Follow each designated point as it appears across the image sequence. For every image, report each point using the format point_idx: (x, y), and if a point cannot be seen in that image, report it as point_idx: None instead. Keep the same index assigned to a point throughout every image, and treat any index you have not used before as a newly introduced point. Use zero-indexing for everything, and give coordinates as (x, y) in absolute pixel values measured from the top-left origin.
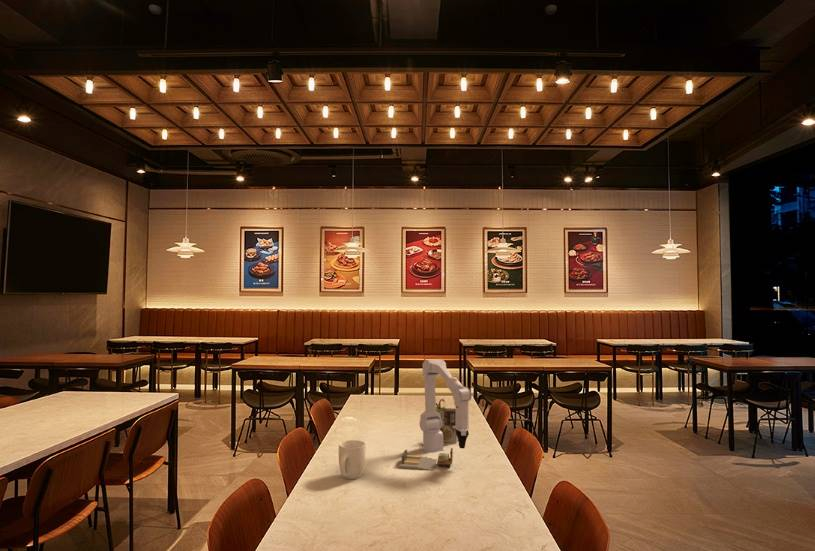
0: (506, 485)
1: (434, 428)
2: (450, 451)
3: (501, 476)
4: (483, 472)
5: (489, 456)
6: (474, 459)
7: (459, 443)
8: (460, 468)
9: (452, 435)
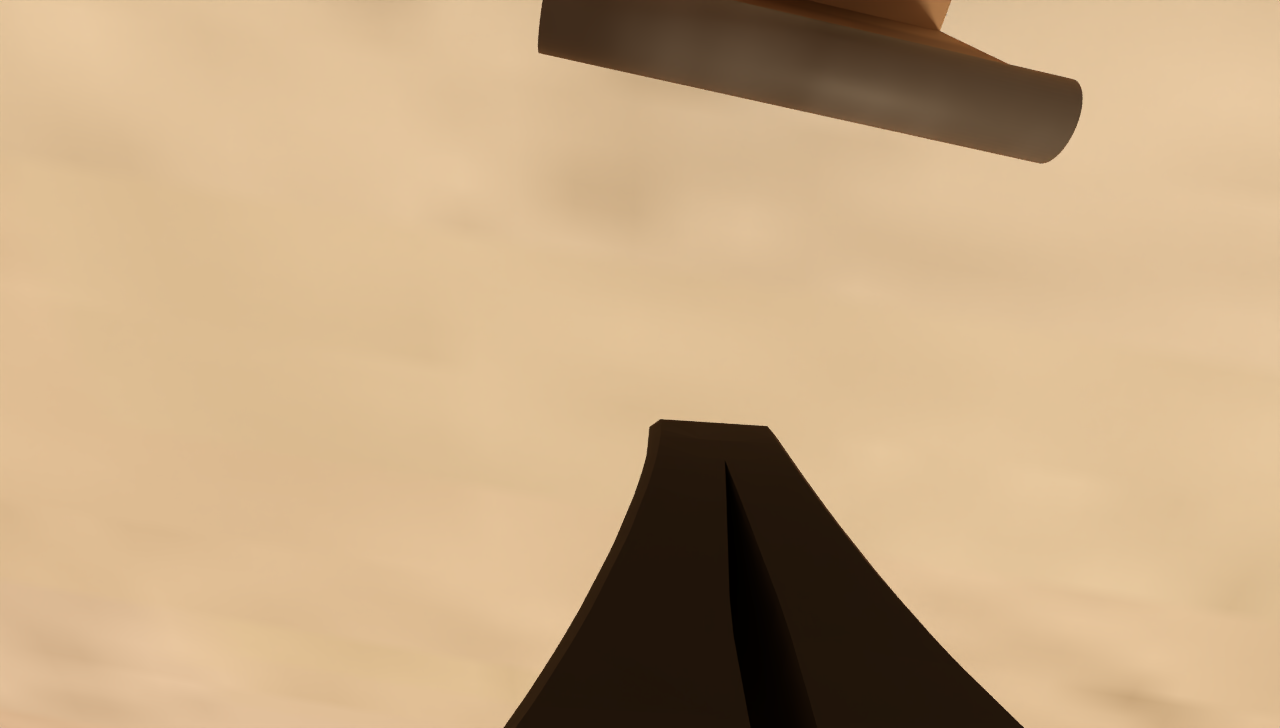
0: (13, 671)
1: None
2: (691, 2)
3: (318, 683)
4: (437, 524)
5: (1111, 706)
6: (1053, 510)
7: (621, 546)
8: (613, 190)
9: None
